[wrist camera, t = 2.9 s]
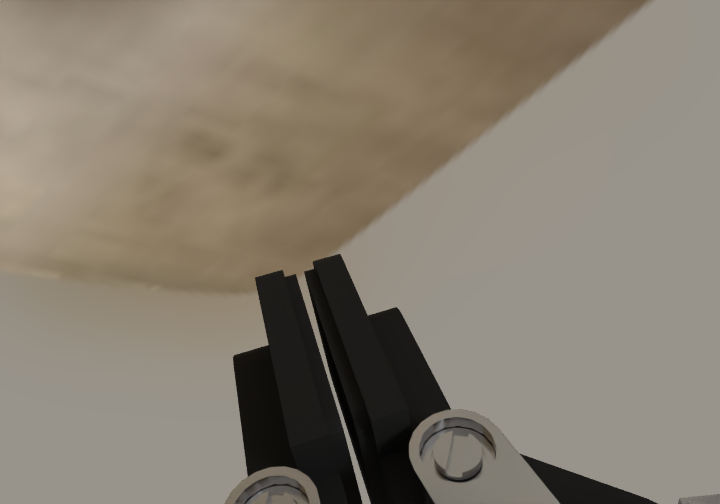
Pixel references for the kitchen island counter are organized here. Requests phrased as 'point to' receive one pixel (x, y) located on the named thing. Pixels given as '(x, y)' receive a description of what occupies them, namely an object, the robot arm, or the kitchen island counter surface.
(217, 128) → the kitchen island counter surface
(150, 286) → the kitchen island counter surface
